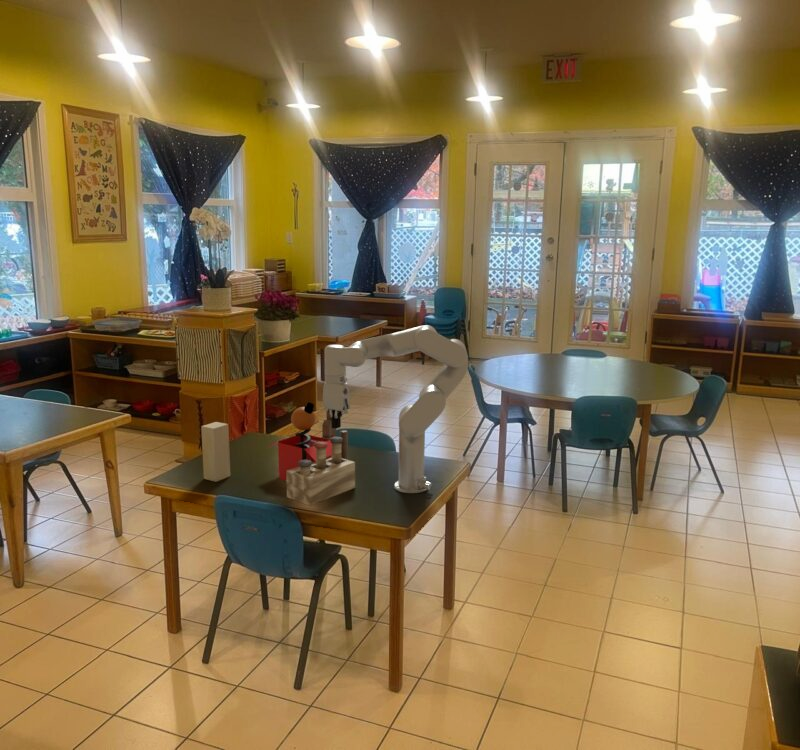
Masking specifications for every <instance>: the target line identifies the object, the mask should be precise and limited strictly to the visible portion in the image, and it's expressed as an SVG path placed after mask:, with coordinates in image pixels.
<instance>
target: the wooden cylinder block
mask: <svg viewBox="0 0 800 750" xmlns="http://www.w3.org/2000/svg"><path fill="white" fill-rule="evenodd" d="M341 460H342V462H341V463H339V464H334V463H332V455H331V456H328V457H326V468H325V469H317V468H316V461H314V462H312V465H311V466H310V474H309V475H306V476H304V475H301V474H300V466H299V467H296V468H293V469H290V470H287V471H286V477H287V481H286V498H288V499H290V500H294V501H296V502H300V503H302V504H304V505H307V506H313V505H316V504H318V503H320V502H322V501H326V500H327V499H330V498H333V497H335V496H338V495H340V494H343V493H346V492H348V491H350V490H352V489H355V488H356V461H353V460H350V459H348V460H346V459H343V458H341Z"/></svg>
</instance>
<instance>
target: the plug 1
mask: <svg viewBox="0 0 800 750" xmlns="http://www.w3.org/2000/svg"><path fill="white" fill-rule="evenodd" d="M298 463H299V466H300V474H301V475H304V476H306V475H309V474H310V466H311V465H312V461H311V460H300V461H299V462H298Z"/></svg>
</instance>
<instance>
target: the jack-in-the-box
mask: <svg viewBox="0 0 800 750" xmlns="http://www.w3.org/2000/svg"><path fill="white" fill-rule="evenodd" d="M314 407H315V405H314V403H312V402H310V401H309V402H307V403H306V405H305V406H300V407H297V408H296V409H295V410H294V411H293V412H292V414H291V416H290V421H291V424H292V426H293V427H295V428H296V429H297V430H299V432H296V433H295V434H294V435H292V436H290V437H287V438H284V439H281V440H278V441H276V442H274V443H272V444H270V445H269V446H268V447H267V448H266V449H268V448H271V447H275V446H277V447H278V449H277V451H278V479H280V480H282V481H286V482H287V477H286V471H287V470H290V469H293V468H296V467H299V463H298V462H299V461H300V460H311V461H312V462H314V461H316V448H315V443H316V442H327V447H326V457H328V456H331V455H332V443H331V442H330V440H329V439H324V438H321V437H320V436H315V435H311V434H308V433H309V432H311V430H312V427H314V425H315V423H316V414H315V412H314Z"/></svg>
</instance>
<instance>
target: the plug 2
mask: <svg viewBox="0 0 800 750" xmlns="http://www.w3.org/2000/svg"><path fill="white" fill-rule="evenodd" d="M330 442H331V443H332V463H334V464H339V463H341V462H342V460H341V443H342V442H343V438H342V437H340V436H336V437H331V438H330Z"/></svg>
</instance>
